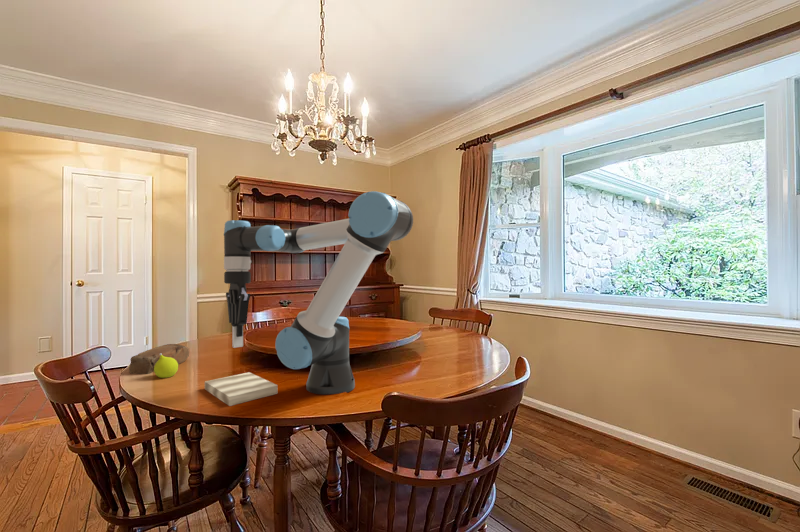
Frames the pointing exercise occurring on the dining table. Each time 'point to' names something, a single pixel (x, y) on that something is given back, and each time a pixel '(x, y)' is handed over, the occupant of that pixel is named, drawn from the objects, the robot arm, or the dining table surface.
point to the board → (240, 388)
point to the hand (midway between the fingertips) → (237, 346)
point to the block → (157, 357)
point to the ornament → (165, 367)
